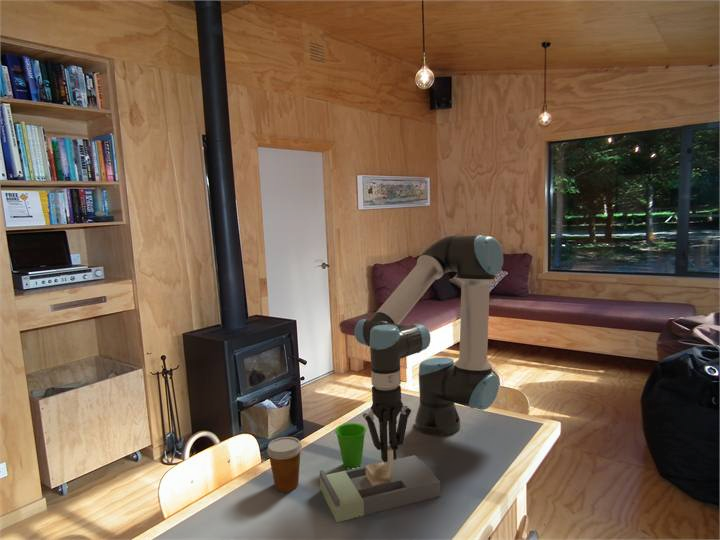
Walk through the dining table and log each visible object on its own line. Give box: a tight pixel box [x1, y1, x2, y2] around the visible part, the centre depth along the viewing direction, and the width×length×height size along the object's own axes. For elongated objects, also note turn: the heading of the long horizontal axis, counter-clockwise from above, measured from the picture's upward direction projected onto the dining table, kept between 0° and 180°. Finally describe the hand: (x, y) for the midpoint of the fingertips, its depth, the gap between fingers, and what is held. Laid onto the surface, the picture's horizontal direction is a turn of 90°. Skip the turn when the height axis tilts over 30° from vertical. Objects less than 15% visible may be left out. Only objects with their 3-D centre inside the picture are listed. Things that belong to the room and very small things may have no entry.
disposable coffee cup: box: [266, 436, 303, 493], centre depth 136 cm, size 10×10×12 cm
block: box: [365, 461, 391, 486], centre depth 130 cm, size 5×5×3 cm
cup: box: [334, 422, 367, 470], centre depth 145 cm, size 9×9×11 cm
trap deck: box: [319, 454, 441, 523], centre depth 130 cm, size 28×15×6 cm, turn 109°
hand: (389, 471), depth 131 cm, fingers closed
